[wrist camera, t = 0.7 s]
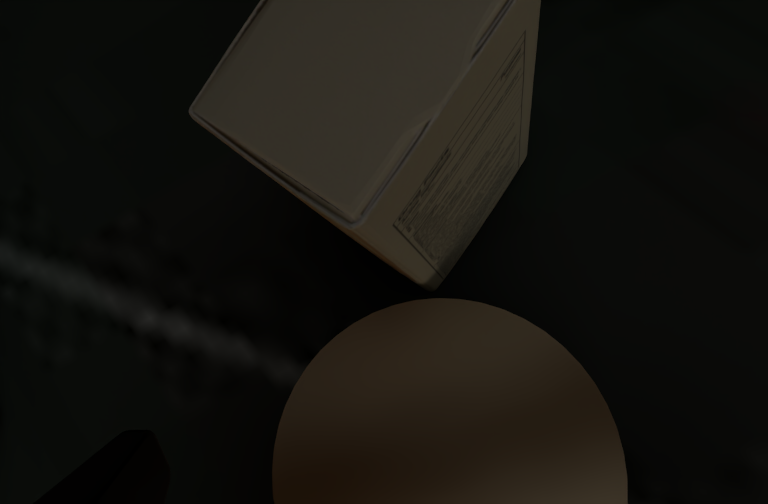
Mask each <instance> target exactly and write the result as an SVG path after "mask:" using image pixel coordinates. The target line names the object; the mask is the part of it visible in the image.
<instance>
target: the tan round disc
mask: <svg viewBox="0 0 768 504" xmlns="http://www.w3.org/2000/svg"><path fill="white" fill-rule="evenodd" d="M272 483H273V498H274V504H628V502H627V472H626V465H625V458H624V452H623V448H622V445H621V441H620V437H619V434H618V430H617V427H616V425H615V422H614V420H613V417H612V415H611V413H610V410H609V408H608V405H607V404H606V402H605V400H604V398H603V397H602V395H601V393H600V391H599V390H598V388H597V386H596V384H595V383H594V381H593V380H592V379H591V377H590V376H589V375H588V373H587V372H586V371H585V369H584V368H583V367H582V365H581V364H580V363H579V362H578V361H577V360H576V359H575V358H574V357H573V356H572V355H571V354H570V353H569V352H568V351H567V350H566V349H565V348H564V347H563V346H562V345H561V344H560V343H559V342H557V341H556V340H555V339H554V338H552V337H551V336H550V335H549V334H547V333H546V332H545V331H543V330H542V329H540V328H539V327H537V326H535V325H534V324H532V323H530V322H529V321H527V320H525V319H524V318H521V317H519V316H517V315H515V314H513V313H510V312H508V311H506V310H504V309H501V308H497V307H494V306H491V305H487V304H484V303H481V302H475V301H468V300H462V299H447V298H433V299H422V300H414V301H409V302H405V303H401V304H396V305H393V306H390V307H387V308H385V309H382V310H379V311H377V312H374V313H372V314H370V315H368V316H366V317H364V318H362V319H361V320H359V321H357V322H355V323H353V324H352V325H351V326H349V327H348V328H346V329H345V330H344V331H342V332H341V333H339V334H338V335H337V336H335V337H334V338H333V339H332V340H331V341H330V342H329V343H328V344H327V345H326V346H325V347H324V348H323V349H321V351H320V352H319V353H318V354H317V355H316V356H315V358H314V359H313V360H312V361H311V362H310V364H309V365H308V366H307V367H306V369H305V371H304V372H303V374H302V375H301V377H300V378H299V380H298V381H297V383H296V385H295V386H294V389H293V391H292V393H291V395H290V397H289V399H288V401H287V403H286V405H285V408H284V411H283V414H282V417H281V420H280V423H279V426H278V431H277V436H276V441H275V446H274V454H273V466H272Z"/></svg>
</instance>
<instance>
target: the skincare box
mask: <svg viewBox="0 0 768 504" xmlns="http://www.w3.org/2000/svg"><path fill="white" fill-rule="evenodd" d="M540 3H541V0H260V2H259V3H258V5H257V6H256V8H255V9H254V11H253V12H252V14H251V15H250V16H249V18H248V19H247V21H246V22H245V24H244V25H243V27H242V29H241V30H240V32H239V33H238V34H237V36H236V37H235V39H234V40H233V42H232V43H231V45H230V46H229V48H228V49H227V51H226V52H225V54H224V56H223V57H222V59H221V60H220V62H219V63H218V65H217V66H216V68H215V69H214V71H213V72H212V74H211V76H210V77H209V79H208V80H207V82H206V84H205V85H204V87H203V88H202V90H201V91H200V93H199V94H198V96H197V97H196V99H195V100H194V102H193V103H192V104H191V106H190V108H189V114H190V116H191V117H192V118H193V119H194V120H195V121H196V122H197V123H199V124H200V125H201V126H203V127H204V128H205V129H207V130H208V131H209V132H211V133H212V134H213V135H215V136H216V137H217V138H219V139H220V140H221V141H223V142H224V143H225V144H227V145H228V146H229V147H230V148H232V149H233V150H234V151H236V152H237V153H238V154H240V155H241V156H242V157H244V158H245V159H246V160H248V161H249V162H250V163H252V164H253V165H254V166H256V167H257V168H258V169H260V170H261V171H263V172H264V173H265V174H267V175H268V176H269V177H271V178H272V179H273V180H275V181H276V182H277V183H279V184H280V185H281V186H283V187H284V188H285V189H287V190H288V191H289V192H291V193H292V194H293V195H295V196H296V197H297V198H298V199H300V200H301V201H302V202H304V203H305V204H306V205H308V206H309V207H310V208H312V209H313V210H314V211H316V212H317V213H319V214H320V215H321V216H323V217H324V218H325V219H327V220H328V221H329V222H330V223H332V224H333V225H334V226H336V227H337V228H338V229H340V230H341V231H342V232H344V233H345V234H346V235H348V236H349V237H351V238H352V239H353V240H355V241H356V242H357V243H359V244H360V245H362V246H363V247H364V248H366V249H367V250H368V251H370V252H371V253H373V254H374V255H375V256H377V257H378V258H380V259H381V260H382V261H384V262H385V263H387V264H388V265H389V266H391V267H392V268H394V269H395V270H396V271H398V272H399V273H401V274H402V275H404V276H405V277H407V278H408V279H410V280H411V281H413V282H414V283H416V284H417V285H419V286H420V287H422V288H423V289H425V290H427V291H430V292H432V291H435V290H436V289H437V288H438V287H439V286H440V284H441V283H442V281H443V280H444V279H445V277H446V276H447V275H448V273H449V272H450V271H451V269H452V268H453V267H454V265H455V264H456V262H457V261H458V259H459V258H460V257H461V255H462V254H463V252H464V251H465V250H466V248H467V247H468V245H469V244H470V242H471V241H472V240H473V238H474V237H475V235H476V234H477V232H478V231H479V229H480V228H481V226H482V225H483V223H484V222H485V220H486V219H487V217H488V216H489V214H490V213H491V211H492V210H493V208H494V207H495V205H496V204H497V202H498V201H499V199H500V198H501V196H502V195H503V193H504V192H505V190H506V188H507V187H508V185H509V184H510V182H511V181H512V179H513V177H514V176H515V174H516V173H517V171H518V169H519V168H520V166H521V165H522V163H523V161H524V160H525V158H526V156H527V146H528V135H529V123H530V111H531V102H532V90H533V78H534V68H535V58H536V49H537V37H538V27H539V13H540Z"/></svg>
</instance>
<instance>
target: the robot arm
mask: <svg viewBox="0 0 768 504" xmlns="http://www.w3.org/2000/svg"><path fill="white" fill-rule="evenodd" d="M169 482H170V468H169V464H168V462H167V460H166V457H165V455H164V453H163V451H162V449H161V446H160V444H159V442H158V440H157V438H156V436H155V434H154V433H153V432H151V431H150V430H128V431H124V432H122V433H121V434H119V435H118V436H117V437H115V438H114V439H113V440H112V441H110V442H109V443H108V444H107V445H105V446H104V447H103V448H102V449H100V450H99V451H98V452H97V453H96V454H94V455H93V456H92V457H91V458H89V459H88V460H87V461H86V462H84V463H83V464H82V465H81V466H79V467H78V468H77V469H76V470H74V471H73V472H72V473H71V474H69V475H68V476H67V477H66V478H64V479H63V480H62V481H61V482H59V483H58V484H57V485H56V486H54V487H53V488H52V489H51V490H50V491H48V492H47V493H46V494H45V495H43V496H42V497H41V498H40V499H38V500H37V501H36V502H35V503H33V504H164V502H165V498H166V494H167V490H168V487H169Z"/></svg>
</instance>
